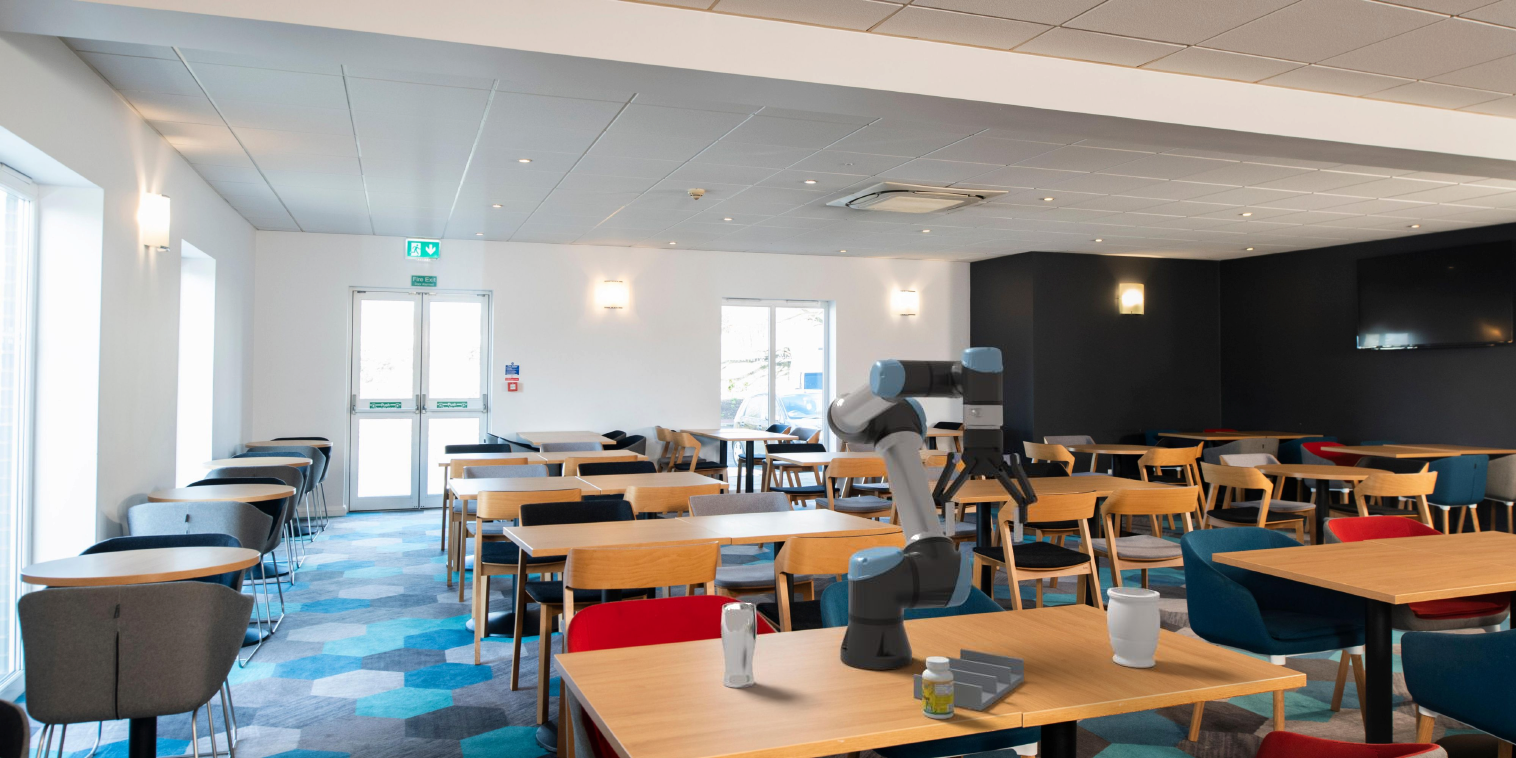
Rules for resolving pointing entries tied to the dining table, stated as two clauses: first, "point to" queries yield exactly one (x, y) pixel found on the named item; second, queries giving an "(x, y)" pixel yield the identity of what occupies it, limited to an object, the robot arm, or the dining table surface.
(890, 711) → the dining table surface
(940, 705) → the supplement bottle
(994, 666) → the rack
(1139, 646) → the jar
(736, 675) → the beer glass
